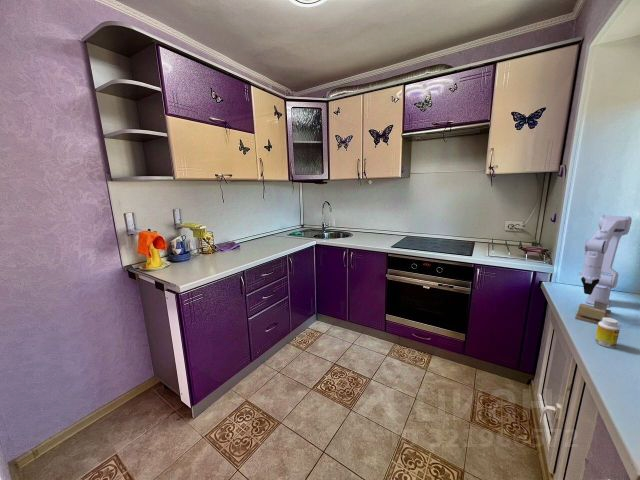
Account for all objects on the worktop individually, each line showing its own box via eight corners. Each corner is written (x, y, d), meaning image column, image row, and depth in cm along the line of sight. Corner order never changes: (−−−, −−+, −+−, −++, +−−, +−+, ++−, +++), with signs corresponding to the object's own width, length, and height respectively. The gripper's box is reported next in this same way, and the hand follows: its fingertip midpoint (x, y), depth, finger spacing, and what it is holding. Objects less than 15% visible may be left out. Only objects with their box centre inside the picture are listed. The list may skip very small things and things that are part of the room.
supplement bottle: (614, 350, 97) (619, 325, 95) (592, 343, 101) (597, 319, 99) (617, 344, 100) (622, 320, 98) (596, 338, 104) (601, 314, 102)
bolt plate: (581, 305, 131) (581, 303, 130) (610, 312, 123) (611, 309, 123) (575, 318, 119) (575, 316, 119) (607, 327, 111) (608, 324, 111)
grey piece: (593, 307, 126) (595, 298, 125) (606, 310, 123) (607, 301, 122) (589, 319, 116) (591, 309, 115) (603, 322, 113) (605, 312, 112)
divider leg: (578, 313, 121) (580, 304, 120) (603, 319, 115) (605, 310, 114) (577, 315, 119) (579, 306, 118) (603, 322, 113) (605, 312, 112)
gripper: (582, 260, 125) (577, 286, 128) (578, 267, 116) (573, 296, 119) (604, 263, 119) (598, 291, 122) (601, 270, 110) (595, 300, 113)
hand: (587, 293), depth 120 cm, fingers closed
